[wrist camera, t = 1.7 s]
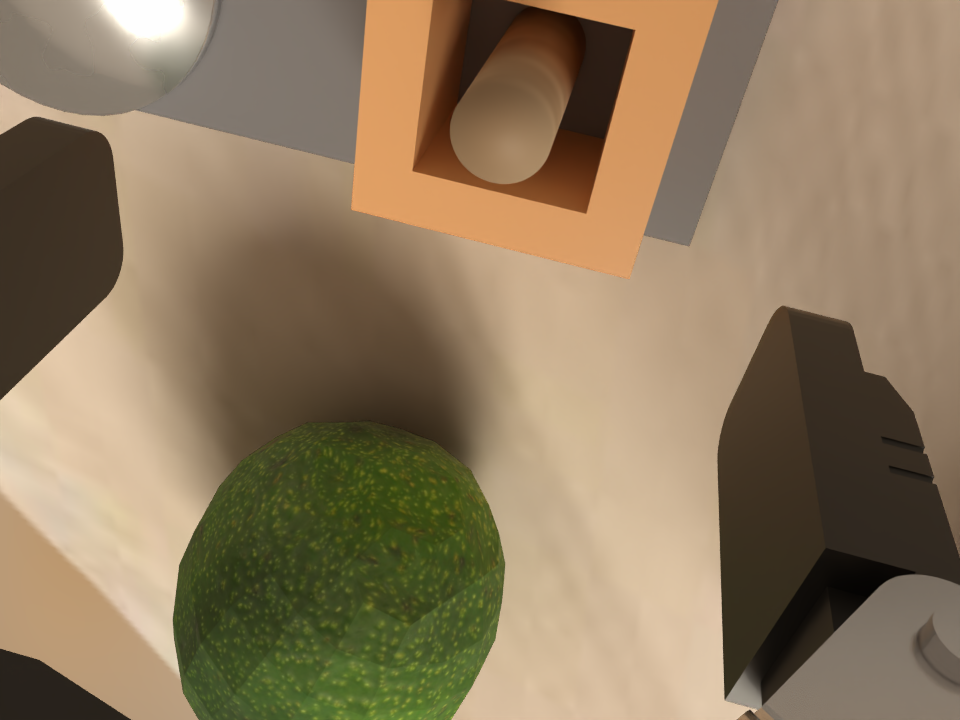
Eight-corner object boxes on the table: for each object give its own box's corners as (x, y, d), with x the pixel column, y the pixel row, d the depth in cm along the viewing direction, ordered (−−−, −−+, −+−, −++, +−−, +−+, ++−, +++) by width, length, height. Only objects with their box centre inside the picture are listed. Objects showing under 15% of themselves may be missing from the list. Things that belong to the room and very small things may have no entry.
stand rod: (594, 13, 18) (562, 97, 14) (575, 93, 19) (540, 194, 15) (514, -6, 18) (457, 72, 14) (499, 75, 20) (443, 171, 15)
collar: (722, -72, 17) (727, -29, 14) (639, 197, 21) (629, 279, 17) (434, -135, 17) (375, -108, 14) (403, 139, 21) (351, 209, 18)
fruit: (404, 659, 37) (324, 910, 29) (196, 555, 36) (53, 788, 28) (590, 454, 28) (547, 738, 20) (321, 305, 26) (160, 544, 19)
